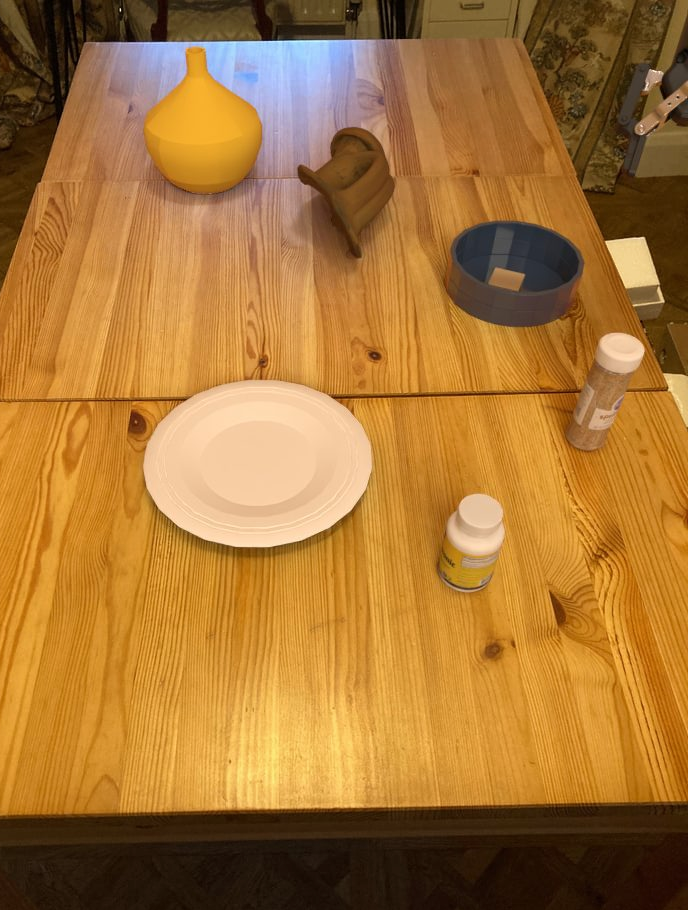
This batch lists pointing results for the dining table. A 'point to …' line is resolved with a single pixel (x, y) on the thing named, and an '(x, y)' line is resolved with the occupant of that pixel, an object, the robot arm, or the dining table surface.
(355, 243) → the brown looped sculpture
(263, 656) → the dining table surface
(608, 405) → the sprinkles bottle
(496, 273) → the block
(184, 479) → the plate
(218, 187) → the vase
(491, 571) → the supplement bottle
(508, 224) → the bowl
